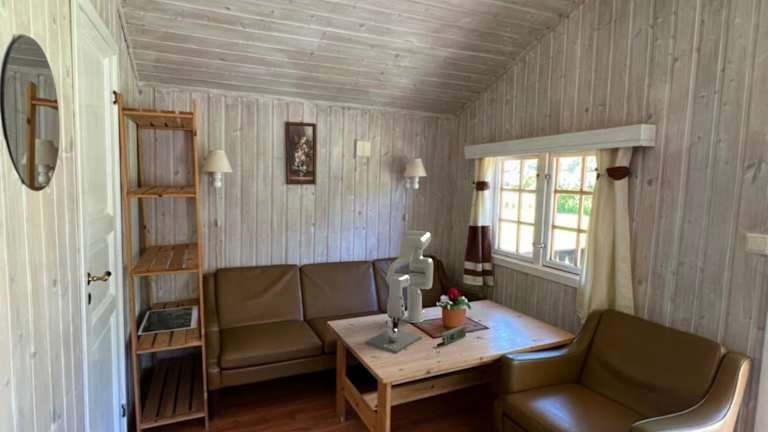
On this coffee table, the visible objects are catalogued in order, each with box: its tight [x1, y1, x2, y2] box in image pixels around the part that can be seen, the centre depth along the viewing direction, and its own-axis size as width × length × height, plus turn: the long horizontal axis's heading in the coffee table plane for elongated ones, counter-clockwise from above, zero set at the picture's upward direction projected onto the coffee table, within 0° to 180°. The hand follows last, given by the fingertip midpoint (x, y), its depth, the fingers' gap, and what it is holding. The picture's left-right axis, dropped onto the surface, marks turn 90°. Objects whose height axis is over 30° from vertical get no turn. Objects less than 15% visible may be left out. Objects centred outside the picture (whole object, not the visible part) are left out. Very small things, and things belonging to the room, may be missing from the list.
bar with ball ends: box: [385, 319, 398, 343], centre depth 251 cm, size 25×5×8 cm, turn 9°
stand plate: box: [364, 329, 423, 354], centre depth 250 cm, size 26×22×2 cm
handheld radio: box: [436, 325, 467, 347], centre depth 250 cm, size 7×3×25 cm
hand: (395, 328), depth 253 cm, fingers closed
